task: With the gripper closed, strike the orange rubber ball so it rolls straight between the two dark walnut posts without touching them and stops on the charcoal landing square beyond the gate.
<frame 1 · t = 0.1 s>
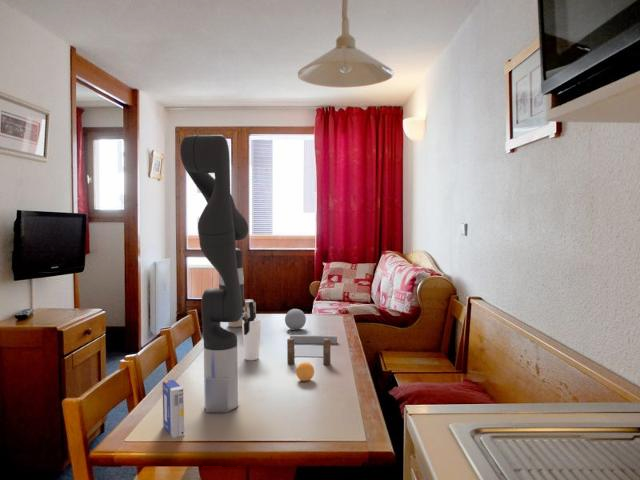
hand: (232, 333, 139), 17 cm above the table, tool pointing down, fingers open, 8 cm apart
blue and white carton: (173, 431, 112), on the table
post left: (291, 363, 164), on the table
post right: (326, 364, 163), on the table
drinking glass: (251, 359, 169), on the table
gray bar: (313, 342, 191), on the table
candy box: (250, 334, 207), on the table
travel mug: (236, 326, 222), on the table
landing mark: (311, 351, 178), on the table
ball: (305, 371, 146), on the table
decorative stone: (295, 330, 214), on the table
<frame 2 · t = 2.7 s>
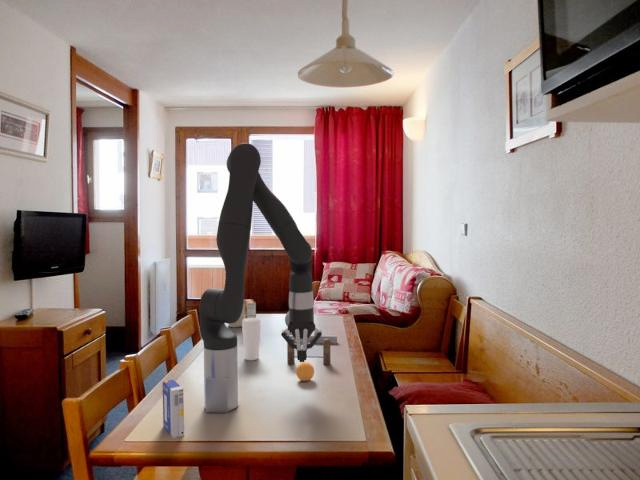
hand: (302, 361, 138), 9 cm above the table, tool pointing down, fingers closed
nothing on the table moved.
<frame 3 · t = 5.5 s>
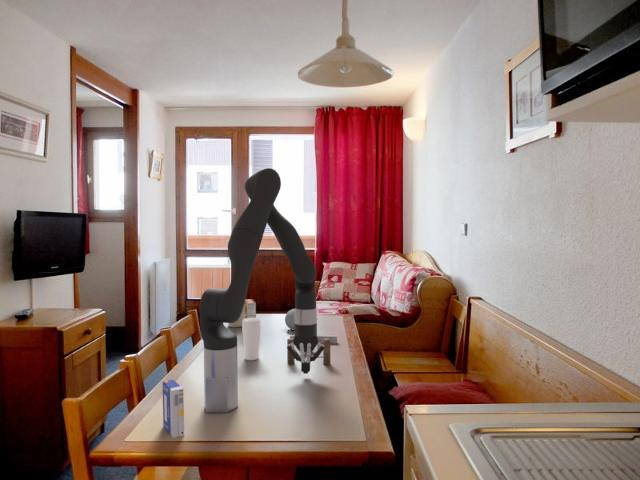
hand: (305, 372, 149), 2 cm above the table, tool pointing down, fingers closed
ball: (307, 345, 177), on the table
everything else where it was.
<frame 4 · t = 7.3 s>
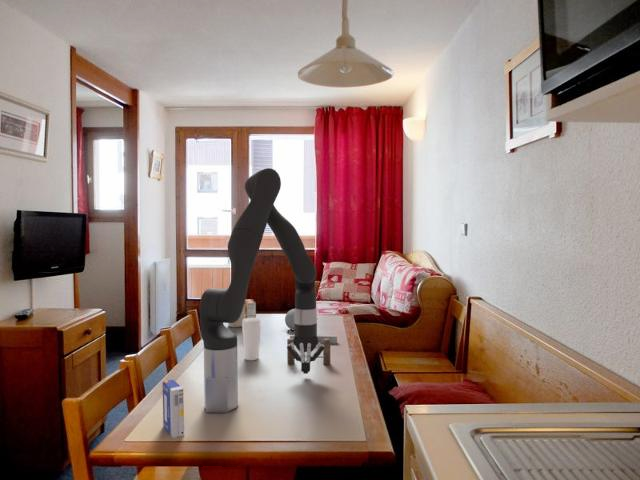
hand: (305, 372, 149), 2 cm above the table, tool pointing down, fingers closed
ball: (308, 338, 187), on the table
everything else where it was.
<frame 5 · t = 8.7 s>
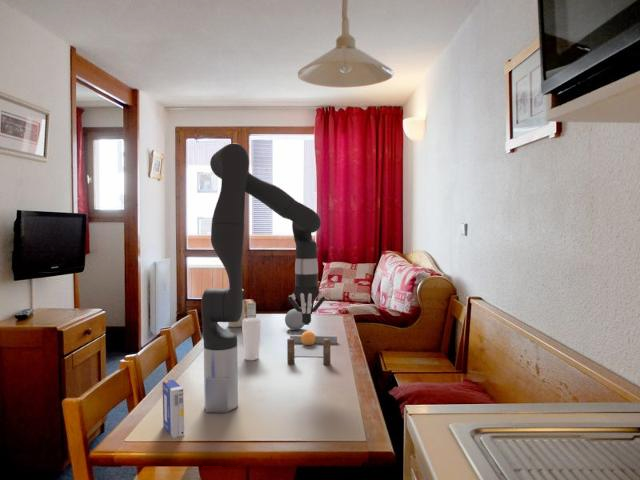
hand: (306, 324, 148), 18 cm above the table, tool pointing down, fingers closed
nothing on the table moved.
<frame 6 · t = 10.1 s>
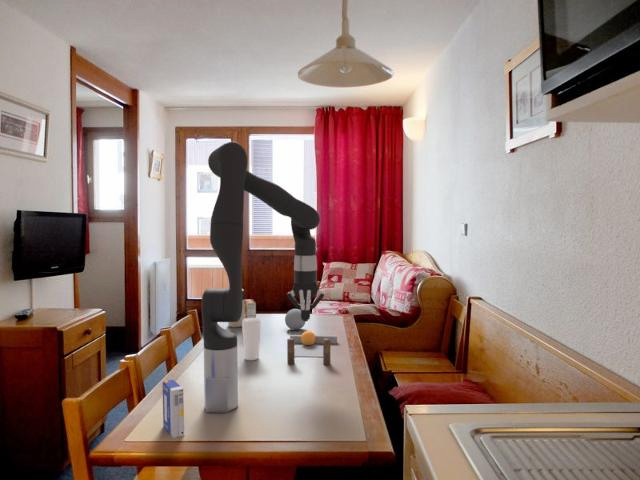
hand: (305, 320, 148), 19 cm above the table, tool pointing down, fingers closed
nothing on the table moved.
at the end: ball 9.2 cm from the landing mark (horizontally); ball never touched post left; ball never touched post right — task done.
